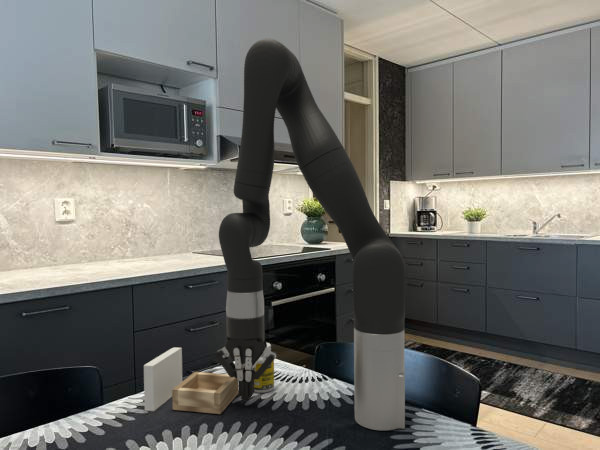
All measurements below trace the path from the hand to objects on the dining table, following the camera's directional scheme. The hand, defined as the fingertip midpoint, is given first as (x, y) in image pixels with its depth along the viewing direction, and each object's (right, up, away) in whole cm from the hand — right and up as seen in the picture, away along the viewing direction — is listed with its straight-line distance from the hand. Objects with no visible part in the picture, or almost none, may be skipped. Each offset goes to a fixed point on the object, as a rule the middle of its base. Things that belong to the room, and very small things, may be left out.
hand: (246, 397), depth 92 cm
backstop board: (-18, -2, +4) cm, 18 cm away
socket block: (-8, -2, +2) cm, 9 cm away
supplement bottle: (+2, -2, +9) cm, 9 cm away
